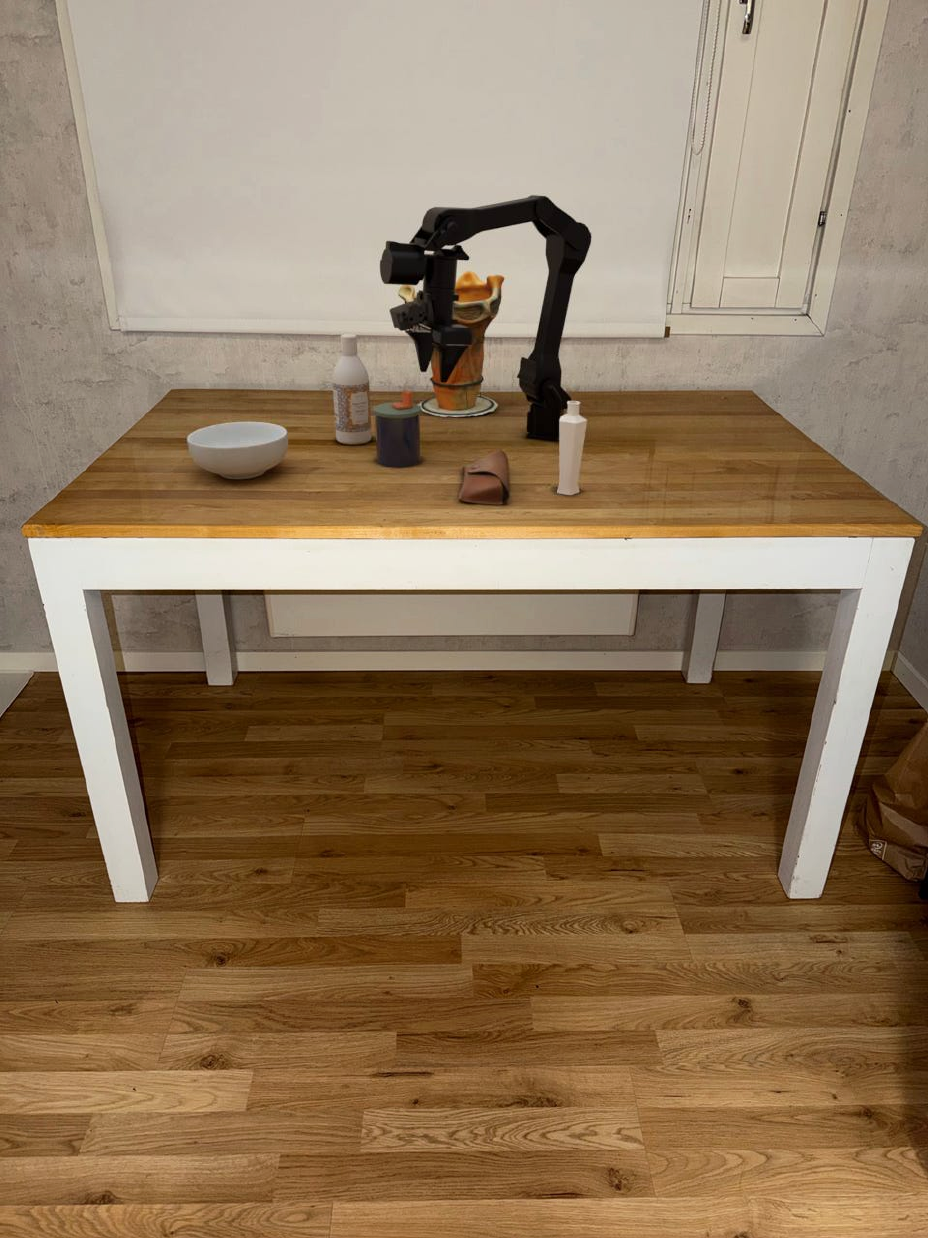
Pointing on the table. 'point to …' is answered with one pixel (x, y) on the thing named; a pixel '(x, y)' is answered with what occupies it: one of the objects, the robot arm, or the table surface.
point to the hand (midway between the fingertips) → (433, 376)
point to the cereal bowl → (238, 448)
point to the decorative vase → (466, 378)
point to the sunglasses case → (486, 480)
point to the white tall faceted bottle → (570, 448)
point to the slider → (404, 401)
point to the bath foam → (351, 395)
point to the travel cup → (397, 435)
